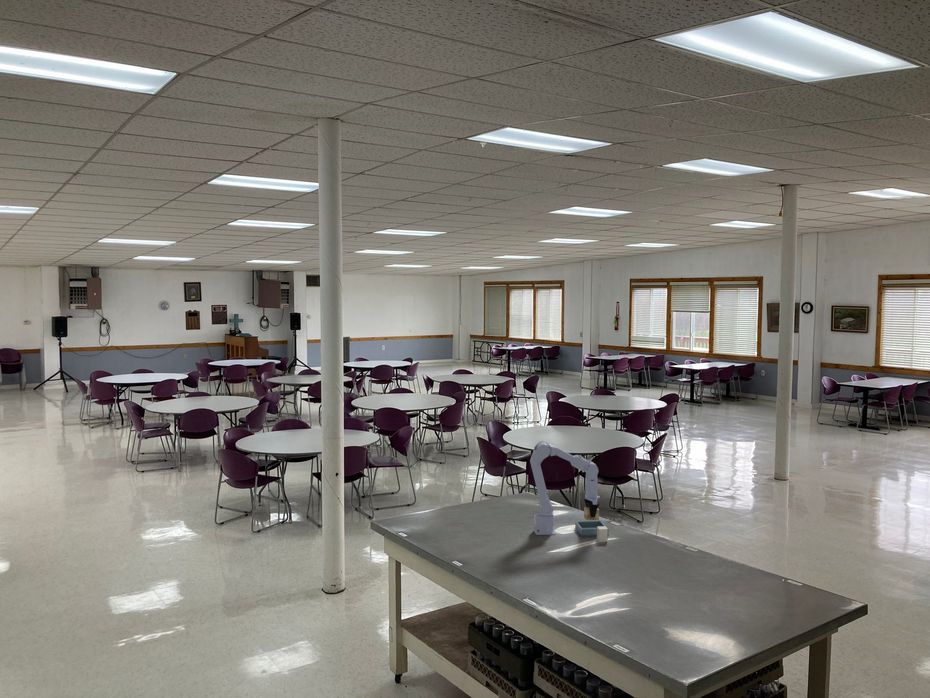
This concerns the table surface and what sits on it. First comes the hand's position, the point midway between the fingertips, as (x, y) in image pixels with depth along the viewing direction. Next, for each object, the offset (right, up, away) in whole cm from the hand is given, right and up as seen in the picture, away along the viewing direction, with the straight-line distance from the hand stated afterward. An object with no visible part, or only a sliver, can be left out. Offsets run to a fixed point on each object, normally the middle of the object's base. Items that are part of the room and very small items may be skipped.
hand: (591, 515), depth 329 cm
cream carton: (+3, -9, -11) cm, 15 cm away
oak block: (0, -2, 0) cm, 2 cm away
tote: (0, -8, +1) cm, 8 cm away
